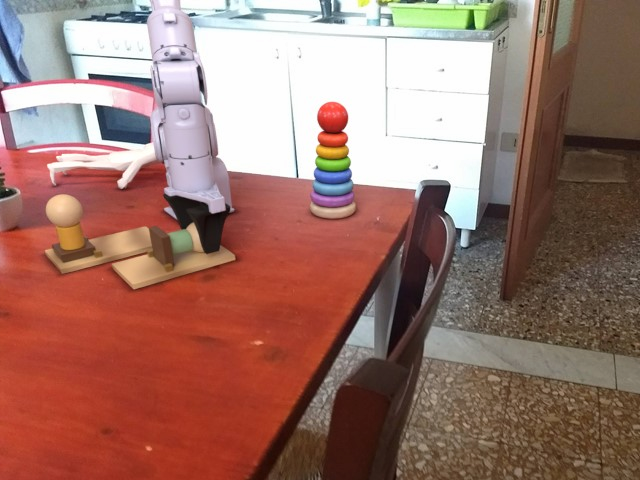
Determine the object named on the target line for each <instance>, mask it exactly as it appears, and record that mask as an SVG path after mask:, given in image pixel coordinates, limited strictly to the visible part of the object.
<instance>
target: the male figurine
mask: <svg viewBox="0 0 640 480" xmlns="http://www.w3.org/2000/svg"><path fill="white" fill-rule="evenodd" d="M162 153H163V152H162ZM55 158H56V160H57V161H56V162H55V161H54V162H51V163H47V164H46V166H47V169H48V170H49V177H50V179H51V182H52V184H53V186H55V187H56V186H57V183H56V174H57V173H63V174H64V175H65V176H67V175H68V174H67V171H70V170H78V169H79V170H80V169H90V170H100V171H111V172H115V171H116V172H117V171H119V172H123V173H122V176H121V178H119V179H118V180H117V181H116V183H117V187H118V189H120V190H122V189H127V187H128V185H129V184H130V183H132V182H133V180H134V178H135V177H136V175H138V173H139V171H140V170H141V169H144V168H147V167H151V166H155V165H158V164H161V162H159V161H158V160H157V159H156V156H155V151H154V145H153V141H152V142H149V143H146V144H145V145H144V146H143V147H142V148H141V149H130V150H120V151H118V150H117V151H112V152H110V153H109V154H99V155H89V154H85V153H62V154H61V155H56V157H55ZM163 160H164V157H163Z"/></svg>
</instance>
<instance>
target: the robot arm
mask: <svg viewBox="0 0 640 480" xmlns="http://www.w3.org/2000/svg"><path fill="white" fill-rule="evenodd" d="M149 2H150V8H151V13H150V14H149V15H148V17H147V19H146V26H147V31H148V32H147V33H148V39H149V45H150V53H151V61H152V65H150V77H151V83H152V84H151V85H152V90H153V95H154V100H155V103H156V107H155V108H154V109H153V110H152V112H151V115H150V116H149V120H150V132H151V139H152V142H153V145H154V151H155V156H156V159H157V160H158V161H159V162H160V163H164V167H165V169H166V170H165V171H166V172H165V176H166V183H167V186H166V187H164V188H163V191H164V193H163V194H162V197H163V198H164V200H165V202H167V204H168V206H167V207H164V208H163V211H164V212H165V213H167V214H168V215H169V216H171V217H172V218H174V219H175V220H176V221H177V223H178V225H179V228H180V230H183V229H186V228H187V227H188V226H189V225H190V224H191V223H193V222H194V224H195V226H196V229H197V232H198V235H199V239H200V242H201V246H202V248H203V251H204V253H206V254H210V253H213V252H217V251H219V250H220V245H221V243H222V236H223V229H224V226H225V223H226V221H227V218H228V216H229V215H230V214H231V213H235V208H234V207H233V201H232V193H231V186H230V176H229V171H228V168H227V166H226V164H225V162H224V161H223V160H222V159H221V158H220V157H218V156H219V145H218V135H217V129H216V125H215V123H214V116H213V113H212V112H211V109H210V108H208V107H207V106H208V85H207V80H206V73H205V68H204V65H203V63H202V60H201V56H200V53H199V52H198V51H197V44H196V38H195V32H194V31H195V30H194V25H193V21H192V18H191V17H190V16H189V15H188V14H187V13H186V12H185V11H184V10H181V8H182V7H181V0H149ZM201 94H202V95H203V99H204V100H203V101H204V103H202V98H201ZM162 152H163V153H162ZM163 157H164V159H163Z"/></svg>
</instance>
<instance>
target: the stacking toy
mask: <svg viewBox="0 0 640 480" xmlns="http://www.w3.org/2000/svg"><path fill="white" fill-rule="evenodd" d="M316 120H317V124H318V126H319V128H320V129H321V130H322V131H320V132H319V133H318V134H317V142H318V143H319V144H318V145H317V146H316V147H315V153H316V155H317V156H316V157H315V160H314V163H315V166H316V167H315V168H314V169H313V177H314V179H313V181H312V191H311V192H310V200H311V202H310V204H309V210H310V212H311V213H312V214H313V215H315V216H317V217H319V218H323V219H329V220H331V219H333V220H334V219H335V220H337V219H343V218H347V217H349V216H352V215H353V214H354V213H355V212H356V210H357V204H356V202H355V201H354V199H355V192H354V191H353V189H354V186H355V185H354V182H353V179H351V178H352V177H353V172H352V170H351V168H350V167H351V165H352V161H351V158H350V157H349V156H348V155H349V154H350V149H349V147H348V145H346V144H348V141H349V135H348V134H347V132H345V131H344V130H345V129H346V127H347V126H348V123H349V113H348V110H347V109H346V107H345V106H344V105H343V104H341V103H340V102H337V101H327V102H325V103H323V104H322V105H321V106H320V107H319V109H318V111H317V115H316Z"/></svg>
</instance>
